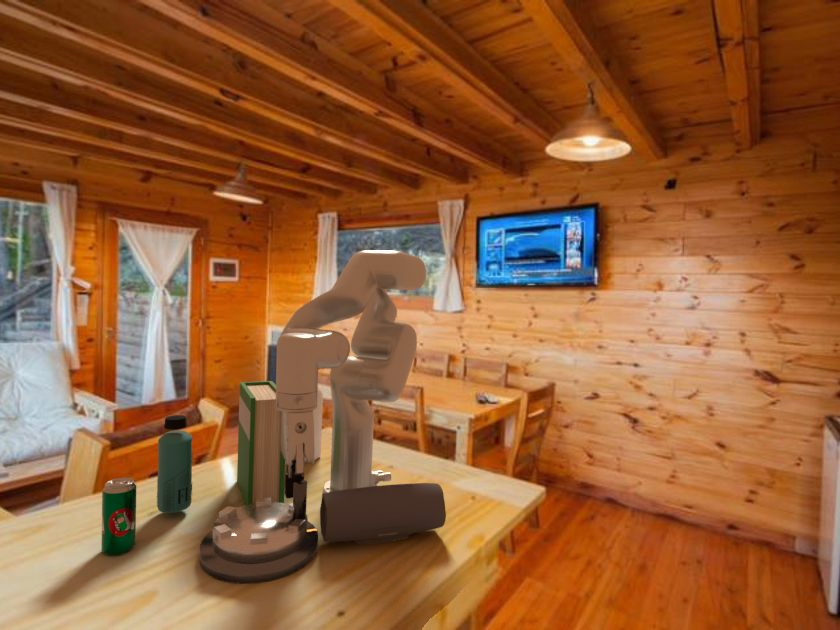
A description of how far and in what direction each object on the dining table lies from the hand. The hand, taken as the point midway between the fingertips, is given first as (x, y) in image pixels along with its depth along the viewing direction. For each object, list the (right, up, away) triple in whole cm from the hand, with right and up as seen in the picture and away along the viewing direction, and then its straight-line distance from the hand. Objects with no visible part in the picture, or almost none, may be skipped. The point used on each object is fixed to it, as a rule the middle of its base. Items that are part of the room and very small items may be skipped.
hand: (294, 495), depth 92 cm
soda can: (-29, -7, -6) cm, 31 cm away
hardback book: (-13, -7, +19) cm, 24 cm away
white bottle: (-8, -6, +44) cm, 45 cm away
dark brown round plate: (-5, -8, -5) cm, 10 cm away
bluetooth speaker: (+16, -9, +2) cm, 19 cm away
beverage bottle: (-26, -7, +8) cm, 28 cm away
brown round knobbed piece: (-5, -6, -5) cm, 9 cm away
